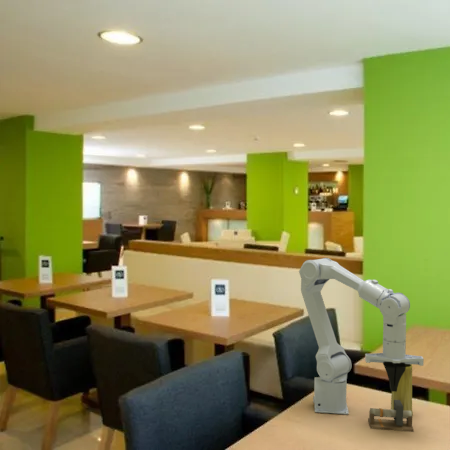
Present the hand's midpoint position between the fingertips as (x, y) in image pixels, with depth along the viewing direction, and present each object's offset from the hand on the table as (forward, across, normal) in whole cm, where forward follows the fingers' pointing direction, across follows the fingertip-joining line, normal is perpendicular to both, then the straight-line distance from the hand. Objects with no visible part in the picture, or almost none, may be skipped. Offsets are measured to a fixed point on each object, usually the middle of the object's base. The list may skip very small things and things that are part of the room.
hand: (393, 390), depth 132 cm
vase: (+11, +4, +11) cm, 16 cm away
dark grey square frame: (+9, +2, +2) cm, 10 cm away
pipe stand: (+10, 0, +2) cm, 11 cm away
